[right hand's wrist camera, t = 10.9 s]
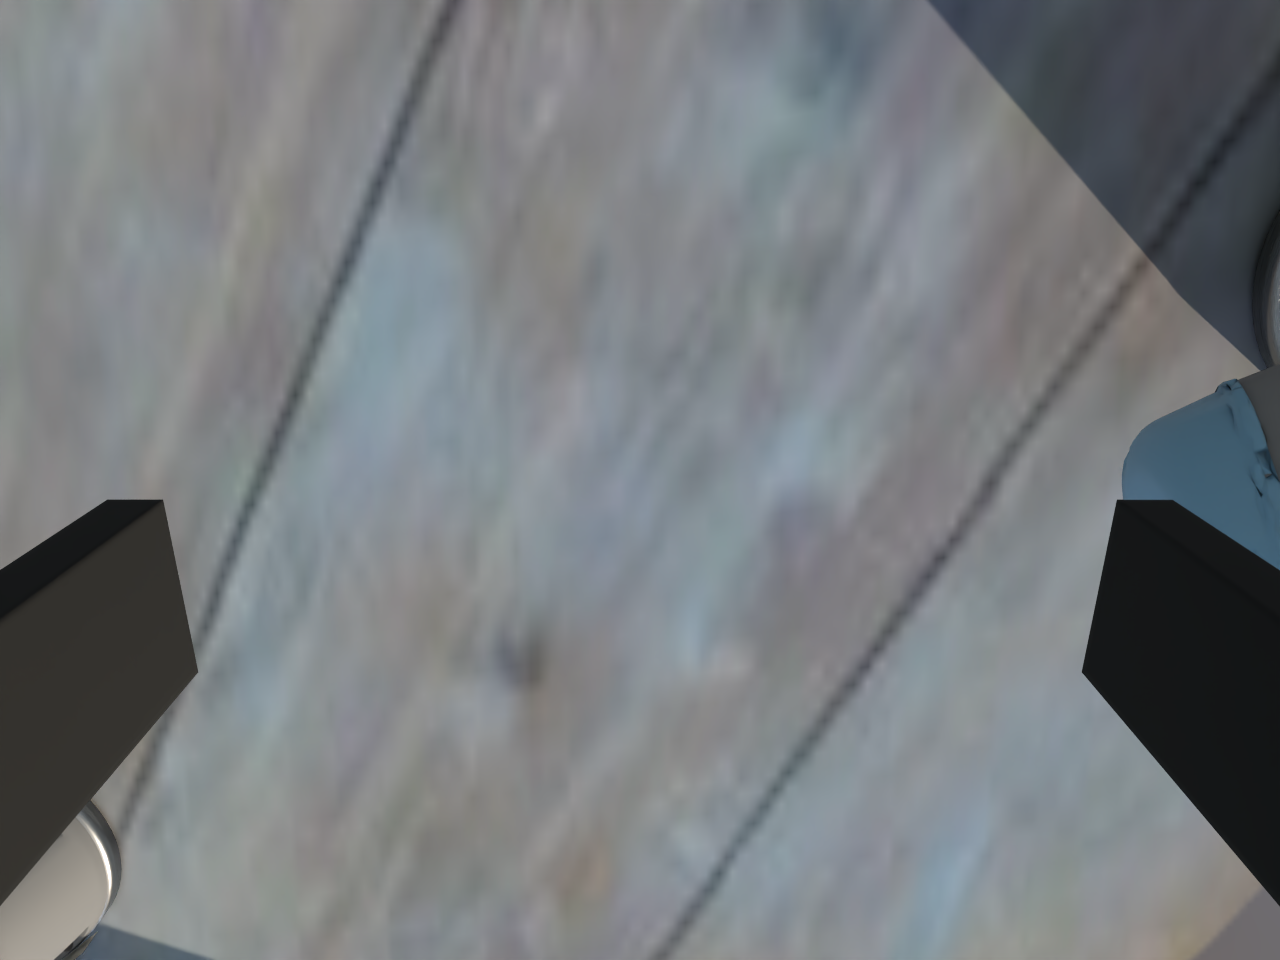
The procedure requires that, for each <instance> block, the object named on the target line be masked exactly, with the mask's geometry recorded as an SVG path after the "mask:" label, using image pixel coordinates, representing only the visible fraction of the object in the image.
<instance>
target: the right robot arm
mask: <svg viewBox="0 0 1280 960" xmlns="http://www.w3.org/2000/svg"><path fill="white" fill-rule="evenodd" d="M197 673H198V669H197V664H196V659H195V654H194V649H193V644H192V640H191V635H190V630H189V625H188V620H187V615H186V610H185V605H184V600H183V595H182V590H181V586H180V581H179V576H178V571H177V566H176V561H175V556H174V551H173V546H172V541H171V537H170V532H169V527H168V522H167V517H166V512H165V507H164V502H163V500H106V501H105V502H103V503H102V504H100V505H99V506H97V507H96V508H94V509H92V510H91V511H89V512H88V513H86V514H85V515H83V516H82V517H80V518H79V519H77V520H76V521H74V522H73V523H71V524H70V525H68V526H67V527H65V528H64V529H62V530H61V531H59V532H58V533H56V534H54V535H53V536H51V537H50V538H48V539H47V540H45V541H44V542H42V543H41V544H39V545H38V546H36V547H35V548H33V549H32V550H30V551H29V552H27V553H26V554H24V555H23V556H21V557H19V558H18V559H16V560H15V561H13V562H12V563H10V564H9V565H7V566H6V567H4V568H3V569H1V570H0V960H61V959H62V958H64V957H65V956H66V955H67V956H66V957H65V958H64V959H62V960H74V959H76V958H77V957H78V956H79V955H81V954H82V953H83V952H84V950H85V949H86V948H87V946H88V945H89V943H90V942H91V940H92V939H93V938H94V936H95V935H96V933H97V932H98V931H97V932H96V933H95V934H93V935H92V936H91V937H90V938H88V939H87V940H86V941H85V942H83V940H84V939H85V938H86V937H87V936H88V935H89V934H90V933H91V932H92V931H93V930H94V929H95V927H96V926H97V924H98V923H99V922H100V920H101V919H102V917H103V916H104V915H105V913H106V912H107V910H108V909H109V907H110V906H111V905H112V903H113V901H114V899H115V897H116V895H117V892H118V889H119V885H120V880H121V858H120V853H119V849H118V846H117V842H116V839H115V837H114V835H113V833H112V830H111V829H110V827H109V825H108V823H107V822H106V820H105V818H104V817H103V816H102V814H101V813H100V811H99V810H98V809H97V808H96V806H95V805H94V804H93V803H92V802H91V801H90V799H91V798H92V797H93V796H94V795H95V794H96V792H97V791H98V790H99V789H100V788H101V786H102V785H103V784H104V783H105V782H106V781H107V779H108V778H109V777H110V776H111V775H112V773H113V772H114V771H115V770H116V769H117V768H118V766H119V765H120V764H121V763H122V762H123V760H124V759H125V758H126V757H127V756H128V755H129V753H130V752H131V751H132V750H133V749H134V747H135V746H136V745H137V744H138V743H139V742H140V740H141V739H142V738H143V737H144V736H145V734H146V733H147V732H148V731H149V730H150V728H151V727H152V726H153V725H154V724H155V723H156V721H157V720H158V719H159V718H160V717H161V715H162V714H163V713H164V712H165V711H166V710H167V708H168V707H169V706H170V705H171V704H172V702H173V701H174V700H175V699H176V698H177V697H178V695H179V694H180V693H181V692H182V691H183V689H184V688H185V687H186V686H187V685H188V684H189V682H190V681H191V680H192V679H193V678H194V676H195V675H196V674H197ZM1082 673H1083V674H1084V675H1085V676H1086V678H1087V679H1088V680H1089V681H1090V682H1091V684H1092V685H1093V686H1094V687H1095V688H1096V689H1097V691H1098V692H1099V693H1100V694H1101V695H1102V697H1103V698H1104V699H1105V700H1106V701H1107V702H1108V704H1109V705H1110V706H1111V707H1112V708H1113V710H1114V711H1115V712H1116V713H1117V714H1118V715H1119V717H1120V718H1121V719H1122V720H1123V721H1124V723H1125V724H1126V725H1127V726H1128V727H1129V728H1130V730H1131V731H1132V732H1133V733H1134V734H1135V736H1136V737H1137V738H1138V739H1139V740H1140V742H1141V743H1142V744H1143V745H1144V746H1145V747H1146V749H1147V750H1148V751H1149V752H1150V753H1151V755H1152V756H1153V757H1154V758H1155V759H1156V760H1157V762H1158V763H1159V764H1160V765H1161V766H1162V768H1163V769H1164V770H1165V771H1166V772H1167V773H1168V775H1169V776H1170V777H1171V778H1172V779H1173V781H1174V782H1175V783H1176V784H1177V785H1178V786H1179V788H1180V789H1181V790H1182V791H1183V792H1184V794H1185V795H1186V796H1187V797H1188V798H1189V799H1190V801H1191V802H1192V803H1193V804H1194V805H1195V807H1196V808H1197V809H1198V810H1199V811H1200V812H1201V814H1202V815H1203V816H1204V817H1205V818H1206V820H1207V821H1208V822H1209V823H1210V824H1211V825H1212V827H1213V828H1214V829H1215V830H1216V831H1217V833H1218V834H1219V835H1220V836H1221V837H1222V839H1223V840H1224V841H1225V842H1226V843H1227V844H1228V846H1229V847H1230V848H1231V849H1232V850H1233V852H1234V853H1235V854H1236V855H1237V856H1238V857H1239V859H1240V860H1241V861H1242V862H1243V863H1244V865H1245V866H1246V867H1247V868H1248V869H1249V870H1250V872H1251V873H1252V874H1253V875H1254V876H1255V878H1256V879H1257V880H1258V881H1259V882H1260V883H1261V885H1262V886H1263V887H1264V888H1265V889H1266V891H1267V892H1268V893H1269V894H1270V895H1271V896H1272V898H1273V899H1274V900H1275V901H1276V902H1277V904H1278V905H1279V906H1280V570H1279V569H1277V568H1276V567H1274V566H1273V565H1271V564H1270V563H1268V562H1267V561H1265V560H1264V559H1262V558H1261V557H1259V556H1257V555H1256V554H1254V553H1253V552H1251V551H1250V550H1248V549H1247V548H1245V547H1244V546H1242V545H1241V544H1239V543H1238V542H1236V541H1235V540H1233V539H1232V538H1230V537H1229V536H1227V535H1226V534H1224V533H1222V532H1221V531H1219V530H1218V529H1216V528H1215V527H1213V526H1212V525H1210V524H1209V523H1207V522H1206V521H1204V520H1203V519H1201V518H1200V517H1198V516H1197V515H1195V514H1194V513H1192V512H1191V511H1189V510H1188V509H1186V508H1184V507H1183V506H1181V505H1180V504H1178V503H1177V502H1175V501H1174V500H1117V502H1116V507H1115V512H1114V517H1113V522H1112V527H1111V532H1110V537H1109V541H1108V546H1107V551H1106V556H1105V561H1104V566H1103V571H1102V576H1101V581H1100V586H1099V590H1098V595H1097V600H1096V605H1095V610H1094V615H1093V620H1092V625H1091V630H1090V635H1089V639H1088V644H1087V649H1086V654H1085V659H1084V664H1083V669H1082ZM82 942H83V943H82ZM81 943H82V944H81ZM80 944H81V945H80ZM78 945H80V946H79V947H77V946H78ZM76 947H77V948H76ZM75 948H76V949H75ZM74 949H75V950H74ZM73 950H74V951H73ZM71 951H72V952H71ZM70 952H71V953H70ZM69 953H70V954H69ZM68 954H69V955H68Z"/></svg>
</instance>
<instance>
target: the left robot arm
mask: <svg viewBox="0 0 1280 960" xmlns="http://www.w3.org/2000/svg"><path fill="white" fill-rule="evenodd" d="M1252 310H1253V324H1254V329H1255V335H1256V340H1257V343H1258V346H1259V350H1260V352H1261V355H1262V357H1263V359H1264V362H1265V364H1266V366H1267V367H1268V368H1267V369H1265V370H1262V371H1260V372H1257V373H1255V374H1252V375H1249V376H1247V377H1244V378H1242V379H1239V380H1237V379H1232V380H1229V381H1226V382H1223V383H1221V384H1220V385H1219V386H1218V387H1217V389H1216V391H1215V393H1213V394H1211V395H1209V396H1207V397H1204V398H1202V399H1200V400H1198V401H1196V402H1194V403H1191V404H1189V405H1187V406H1185V407H1183V408H1181V409H1179V410H1176V411H1174V412H1172V413H1170V414H1168V415H1166V416H1164V417H1161V418H1159V419H1157V420H1155V421H1154V422H1152V423H1151V424H1149V425H1148V426H1146V427H1145V428H1144V429H1143V430H1142V431H1141V432H1140V433H1139V434H1138V436H1137V437H1136V438H1135V440H1134V441H1133V443H1132V445H1131V446H1130V450H1129V453H1128V455H1127V457H1126V458H1125V460H1124V465H1123V471H1122V491H1123V500H1174V501H1175V502H1177V503H1178V504H1180V505H1181V506H1183V507H1184V508H1186V509H1188V510H1189V511H1191V512H1192V513H1194V514H1195V515H1197V516H1198V517H1200V518H1201V519H1203V520H1204V521H1206V522H1207V523H1209V524H1210V525H1212V526H1213V527H1215V528H1216V529H1218V530H1219V531H1221V532H1222V533H1224V534H1226V535H1227V536H1229V537H1230V538H1232V539H1233V540H1235V541H1236V542H1238V543H1239V544H1241V545H1242V546H1244V547H1245V548H1247V549H1248V550H1250V551H1251V552H1253V553H1254V554H1256V555H1257V556H1259V557H1261V558H1262V559H1264V560H1265V561H1267V562H1268V563H1270V564H1271V565H1273V566H1274V567H1276V568H1277V569H1279V570H1280V211H1279V213H1278V215H1277V217H1276V219H1275V221H1274V222H1273V224H1272V226H1271V229H1270V231H1269V233H1268V236H1267V238H1266V240H1265V243H1264V246H1263V249H1262V252H1261V255H1260V258H1259V262H1258V266H1257V270H1256V275H1255V281H1254V288H1253V305H1252Z"/></svg>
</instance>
